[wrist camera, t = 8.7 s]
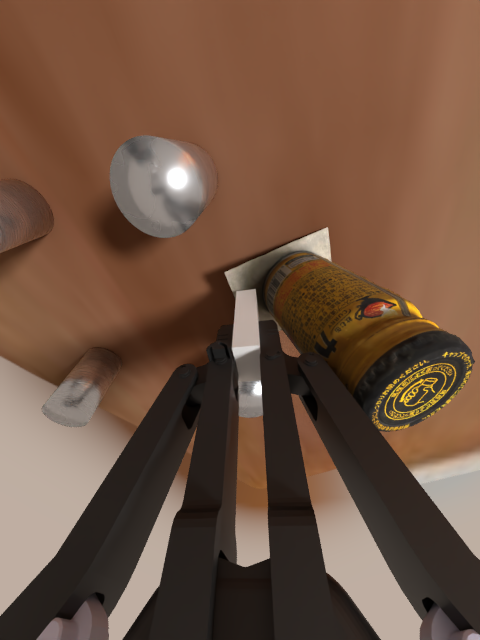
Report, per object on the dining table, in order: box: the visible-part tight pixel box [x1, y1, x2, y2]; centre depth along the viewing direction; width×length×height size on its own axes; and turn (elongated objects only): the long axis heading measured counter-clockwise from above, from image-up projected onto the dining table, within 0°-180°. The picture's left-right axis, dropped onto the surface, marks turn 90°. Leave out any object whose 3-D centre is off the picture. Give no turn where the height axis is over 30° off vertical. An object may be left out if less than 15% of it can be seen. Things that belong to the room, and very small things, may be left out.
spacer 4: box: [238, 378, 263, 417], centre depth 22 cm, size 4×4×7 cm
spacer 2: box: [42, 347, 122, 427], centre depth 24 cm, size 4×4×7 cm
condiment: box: [224, 227, 475, 432], centre depth 14 cm, size 7×8×12 cm
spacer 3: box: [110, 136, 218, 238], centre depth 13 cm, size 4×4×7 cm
